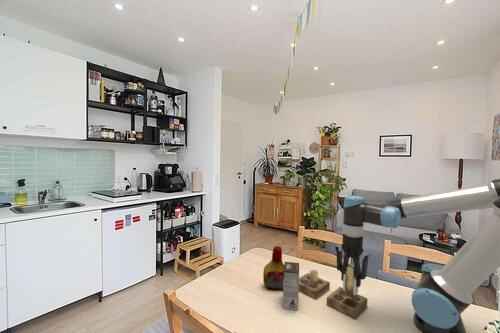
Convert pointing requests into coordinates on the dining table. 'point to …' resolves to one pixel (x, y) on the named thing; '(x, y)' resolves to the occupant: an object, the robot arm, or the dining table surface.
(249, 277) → the dining table surface
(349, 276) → the peg
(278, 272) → the bottle
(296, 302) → the coffee box
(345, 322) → the dining table surface
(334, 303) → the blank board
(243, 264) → the dining table surface
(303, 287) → the board
